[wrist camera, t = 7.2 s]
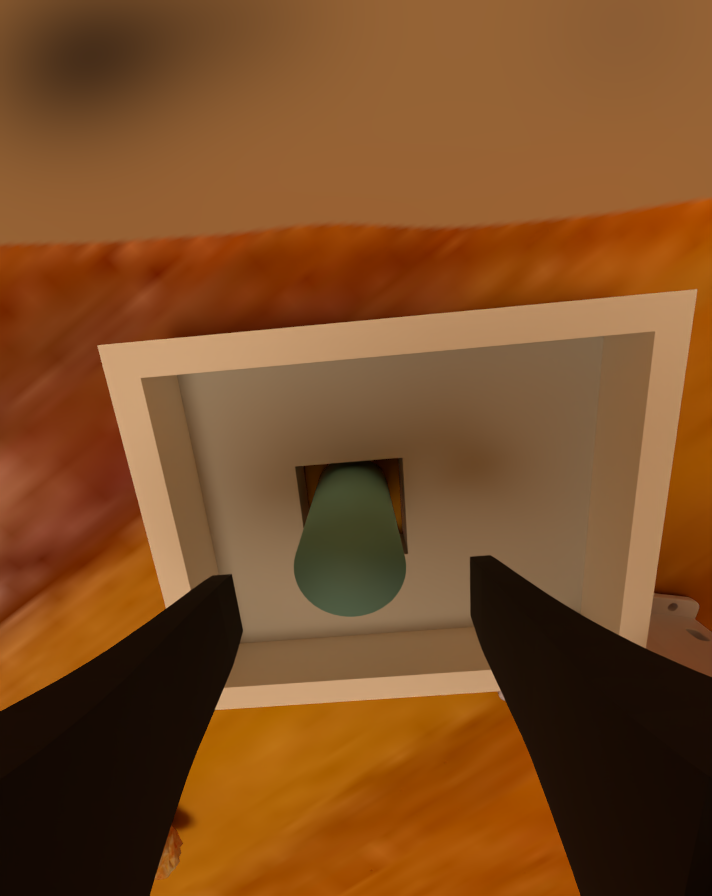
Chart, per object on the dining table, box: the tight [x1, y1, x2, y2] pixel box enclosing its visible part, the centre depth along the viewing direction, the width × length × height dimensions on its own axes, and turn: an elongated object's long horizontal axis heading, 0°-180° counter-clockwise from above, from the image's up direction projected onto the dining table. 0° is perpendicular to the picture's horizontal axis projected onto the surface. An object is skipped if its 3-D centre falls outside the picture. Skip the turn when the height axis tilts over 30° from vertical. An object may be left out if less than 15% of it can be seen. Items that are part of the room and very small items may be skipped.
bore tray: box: [97, 289, 697, 710], centre depth 16 cm, size 20×16×4 cm
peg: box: [294, 460, 406, 617], centre depth 14 cm, size 4×4×7 cm
